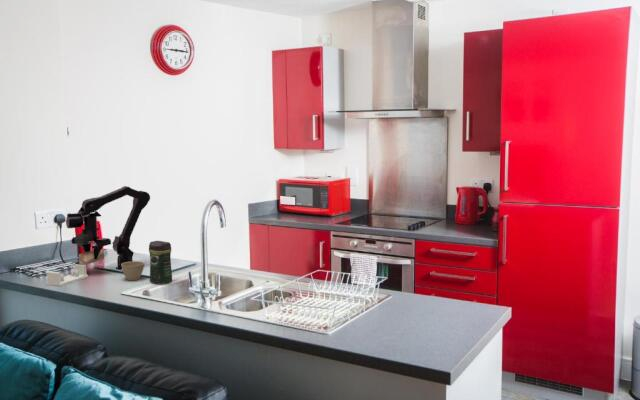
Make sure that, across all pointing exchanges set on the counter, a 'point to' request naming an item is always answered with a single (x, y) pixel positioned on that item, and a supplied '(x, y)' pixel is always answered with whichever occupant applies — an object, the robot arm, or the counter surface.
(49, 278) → the stand
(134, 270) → the flower pot
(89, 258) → the tan wooden bar
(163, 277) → the coffee jar
